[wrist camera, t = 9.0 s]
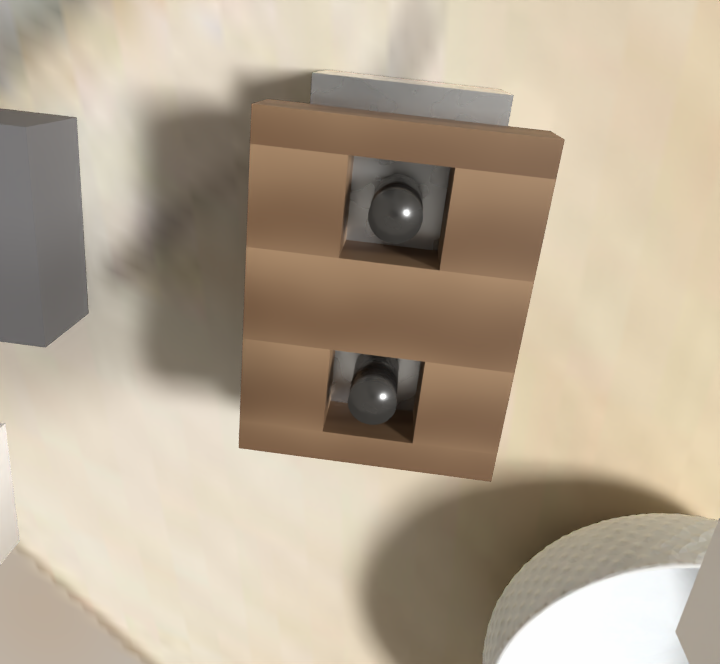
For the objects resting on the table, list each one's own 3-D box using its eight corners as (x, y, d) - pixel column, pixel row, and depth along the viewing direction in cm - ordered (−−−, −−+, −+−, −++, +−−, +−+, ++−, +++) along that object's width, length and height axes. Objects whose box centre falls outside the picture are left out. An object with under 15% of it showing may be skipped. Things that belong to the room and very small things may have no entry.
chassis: (326, 69, 27) (297, 75, 21) (500, 89, 27) (526, 101, 20) (301, 396, 33) (272, 480, 26) (443, 415, 33) (449, 504, 26)
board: (267, 98, 24) (251, 103, 21) (550, 131, 23) (564, 139, 21) (253, 416, 29) (238, 448, 27) (485, 446, 29) (491, 481, 26)
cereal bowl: (408, 581, 37) (406, 694, 30) (667, 399, 31) (731, 490, 25) (602, 747, 41) (637, 880, 34) (863, 611, 35) (964, 738, 29)
